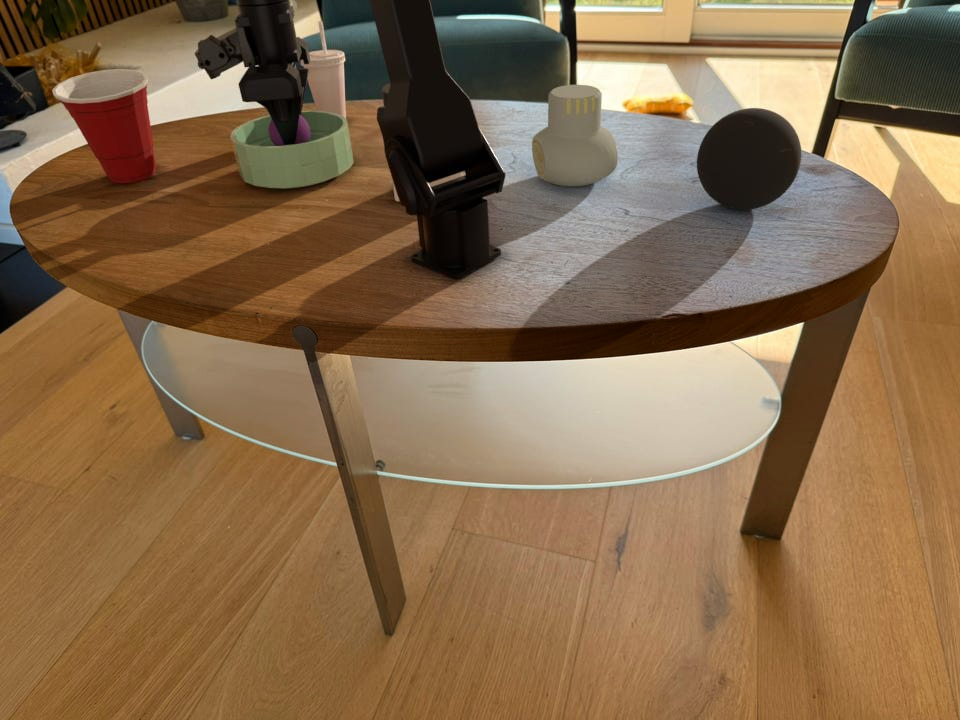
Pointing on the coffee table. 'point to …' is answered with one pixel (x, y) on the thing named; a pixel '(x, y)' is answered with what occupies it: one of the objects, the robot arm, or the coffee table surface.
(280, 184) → the bowl
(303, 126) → the ball
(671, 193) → the coffee table surface
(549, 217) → the coffee table surface
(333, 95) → the smoothie
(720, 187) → the speaker
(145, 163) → the plastic cup
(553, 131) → the air freshener
